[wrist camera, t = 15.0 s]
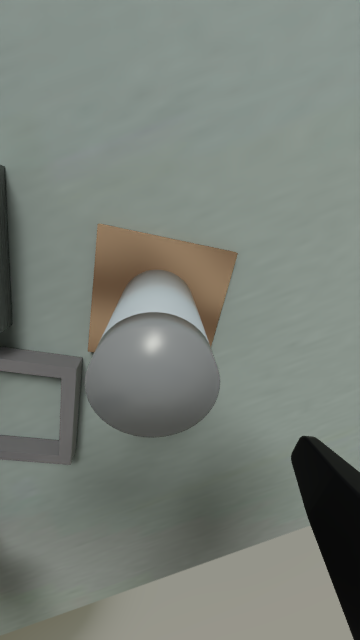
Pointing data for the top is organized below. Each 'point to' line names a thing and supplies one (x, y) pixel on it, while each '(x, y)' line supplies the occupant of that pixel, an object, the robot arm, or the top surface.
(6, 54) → the top surface
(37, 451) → the collar
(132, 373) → the cylinder
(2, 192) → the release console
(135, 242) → the walnut pad
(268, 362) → the top surface
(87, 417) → the top surface
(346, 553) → the robot arm
